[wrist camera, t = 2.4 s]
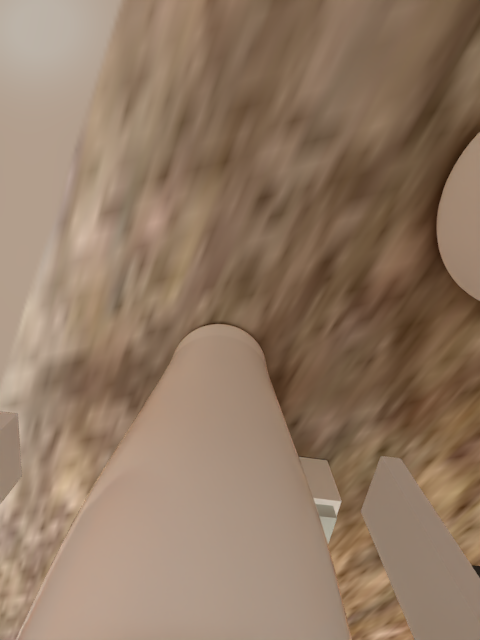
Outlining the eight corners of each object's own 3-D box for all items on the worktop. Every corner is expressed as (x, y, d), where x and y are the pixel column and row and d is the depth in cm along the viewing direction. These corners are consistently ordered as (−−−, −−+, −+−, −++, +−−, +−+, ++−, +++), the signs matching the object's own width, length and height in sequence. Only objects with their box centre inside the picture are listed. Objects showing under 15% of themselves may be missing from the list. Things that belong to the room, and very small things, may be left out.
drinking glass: (211, 430, 21) (161, 890, 7) (137, 353, 19) (-132, 768, 5) (299, 371, 20) (457, 795, 6) (229, 283, 18) (202, 585, 4)
